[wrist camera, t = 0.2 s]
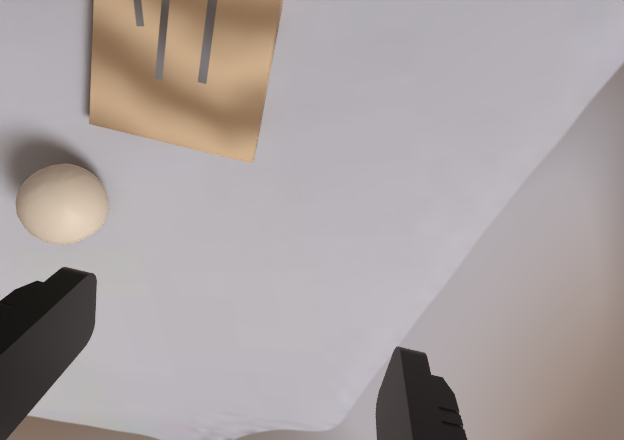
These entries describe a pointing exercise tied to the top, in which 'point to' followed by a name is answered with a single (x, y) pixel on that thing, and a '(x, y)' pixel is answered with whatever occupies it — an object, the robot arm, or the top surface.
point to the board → (184, 70)
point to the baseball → (62, 204)
